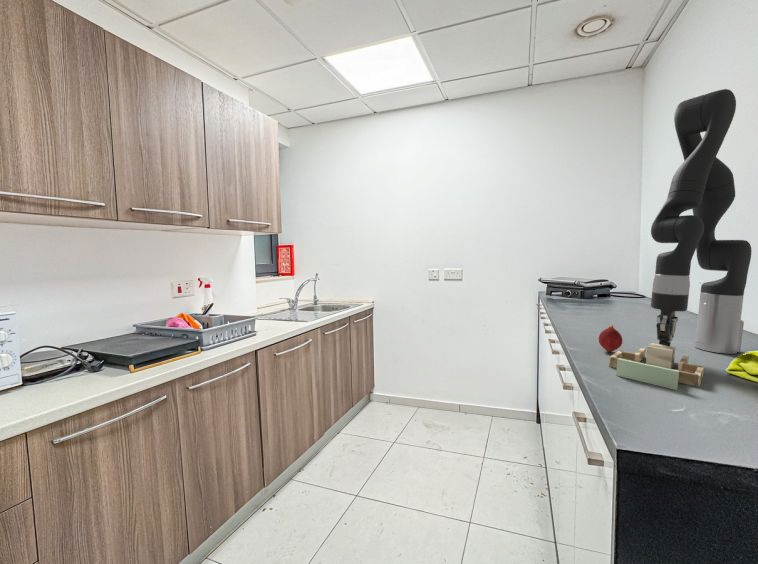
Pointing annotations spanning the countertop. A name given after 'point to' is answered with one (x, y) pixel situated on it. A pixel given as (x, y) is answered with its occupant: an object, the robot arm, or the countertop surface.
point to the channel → (686, 371)
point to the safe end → (648, 373)
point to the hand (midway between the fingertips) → (663, 354)
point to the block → (660, 355)
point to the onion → (610, 339)
